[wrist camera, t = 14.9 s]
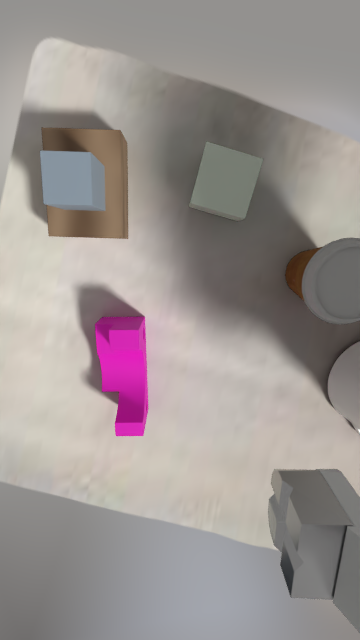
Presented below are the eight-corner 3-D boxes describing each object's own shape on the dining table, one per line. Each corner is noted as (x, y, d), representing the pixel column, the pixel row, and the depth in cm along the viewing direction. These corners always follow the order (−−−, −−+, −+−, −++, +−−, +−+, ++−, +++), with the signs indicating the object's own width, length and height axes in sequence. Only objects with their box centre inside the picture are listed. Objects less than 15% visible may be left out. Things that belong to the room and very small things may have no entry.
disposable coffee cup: (272, 242, 44) (306, 242, 33) (341, 235, 44) (400, 233, 33) (274, 308, 47) (306, 331, 35) (340, 302, 46) (394, 323, 35)
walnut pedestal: (127, 143, 41) (120, 130, 36) (128, 238, 44) (121, 238, 39) (57, 140, 41) (41, 127, 36) (63, 236, 44) (48, 236, 39)
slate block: (104, 166, 37) (90, 152, 32) (105, 210, 39) (92, 205, 33) (61, 164, 37) (39, 150, 31) (64, 209, 38) (43, 203, 33)
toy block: (102, 316, 47) (88, 330, 40) (144, 316, 47) (138, 329, 40) (109, 408, 51) (97, 436, 43) (148, 407, 51) (143, 435, 43)
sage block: (253, 168, 42) (263, 158, 37) (237, 221, 44) (244, 218, 39) (203, 152, 42) (206, 141, 37) (188, 207, 43) (189, 202, 39)
